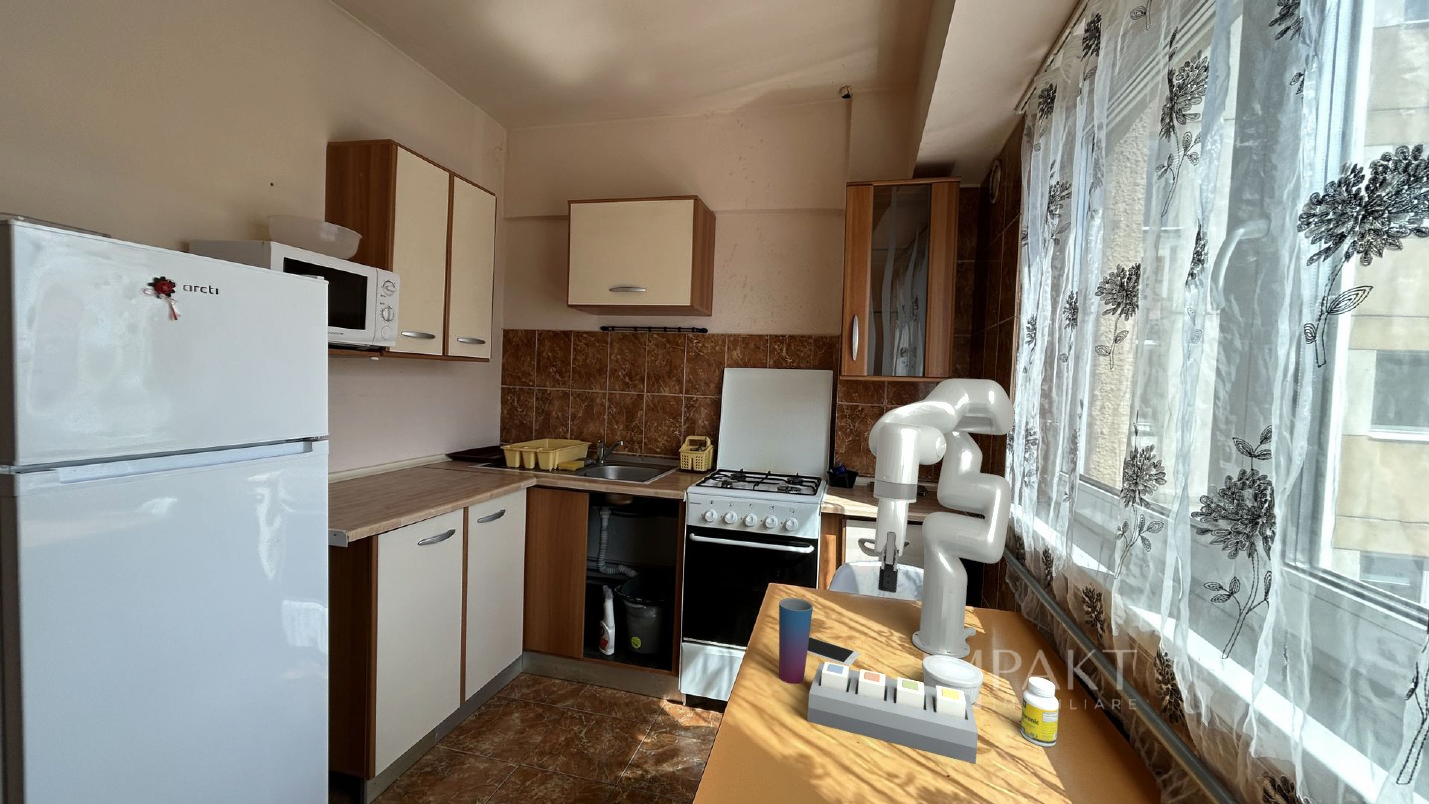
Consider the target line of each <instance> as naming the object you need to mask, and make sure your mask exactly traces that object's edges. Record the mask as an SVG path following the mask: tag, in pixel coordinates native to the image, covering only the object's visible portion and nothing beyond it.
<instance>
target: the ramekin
mask: <svg viewBox="0 0 1429 804" xmlns="http://www.w3.org/2000/svg"><path fill="white" fill-rule="evenodd" d="M921 667H922V672H923V683H924V686H929V687H933V688H936V685H937V686H942V687H946V688H951V689H956V690H960V691H963V692H964V694H966V695H970V699H971V704H972V705H974V703H976V702H977V700H978V698H979V693H980V691H981V688H982V684H983V683H984V674H983V672H982V671H981V670H980V669H979V668H978V666H976V665H974V664H971V663H970V662H968V661H966V660H963V659H962V658H954V657H950V656H943V655H932V654H931V655H929V656H928V655H927V656H926V657H924V658H923V660H922V662H921Z"/></svg>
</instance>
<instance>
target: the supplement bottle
mask: <svg viewBox="0 0 1429 804" xmlns="http://www.w3.org/2000/svg"><path fill="white" fill-rule="evenodd" d="M1027 688H1028V689H1025V690H1024V691H1023V692H1022V693H1023V694H1022V705H1021V707H1022V708H1021V721H1020V733H1021V735H1022V736H1023V738H1025V740H1027V741H1029V742H1031V743H1032V744H1035V745H1037V746H1040V747H1044V748H1045V747H1054V746H1055V745H1056V743H1057V737H1058V725H1059V724H1058V723H1059V722H1058V721H1059V709H1060V707H1059V700H1058V699H1057V698H1056V696H1055V693H1056V686H1055V684H1054V683H1053V682H1051V681H1050V680H1048V679H1045V678H1042V677H1040V676H1039V677H1038V676H1031V677H1029V678H1028V684H1027Z"/></svg>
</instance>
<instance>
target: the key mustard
mask: <svg viewBox="0 0 1429 804" xmlns="http://www.w3.org/2000/svg"><path fill="white" fill-rule="evenodd" d="M935 706H936V713H940V714H944V715H948V716H953V717H957V718H962V719H965V710H966V702H965V697H964V692H963V691H960V690H956V689H951V688H946V687H942V686H937V685H936V697H935Z"/></svg>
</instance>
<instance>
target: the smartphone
mask: <svg viewBox="0 0 1429 804" xmlns="http://www.w3.org/2000/svg"><path fill="white" fill-rule="evenodd" d="M807 654H811V655H814V656H816V655H817V657H820V658H823V659H826V660H830V661H831V662H835V663H837V664H840V665H844V666H848V667H850V666H852V664H854V662H855V661H856V660H857V659H858V658H859V656H860V655H861V653H860V652H859V651H856V650H852V649H849V648H847V647H843V646H840V645H837V644H833V643H830V642H827V641H824V640H821V639H818V638H815V637H811V636H809V642H808V650H807ZM857 657H858V658H857ZM856 658H857V659H856Z"/></svg>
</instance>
